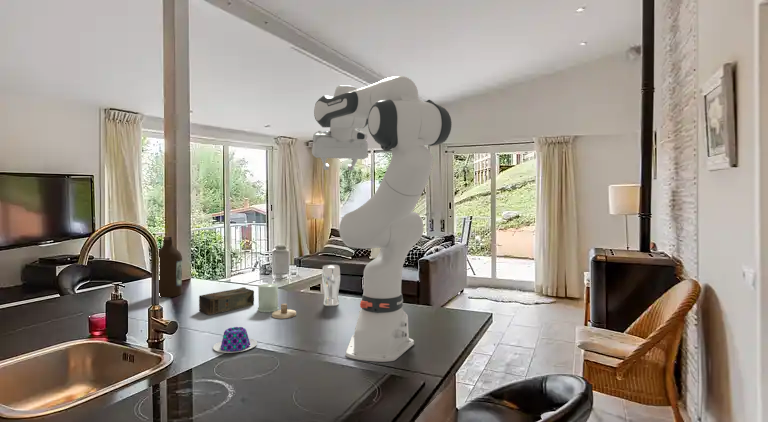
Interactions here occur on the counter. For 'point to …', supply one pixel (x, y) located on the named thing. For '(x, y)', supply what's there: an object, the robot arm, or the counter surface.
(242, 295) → the beverage carton
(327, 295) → the beer glass
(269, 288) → the canister
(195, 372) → the counter surface
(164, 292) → the olive oil
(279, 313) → the lid
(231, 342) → the purple patterned hat
